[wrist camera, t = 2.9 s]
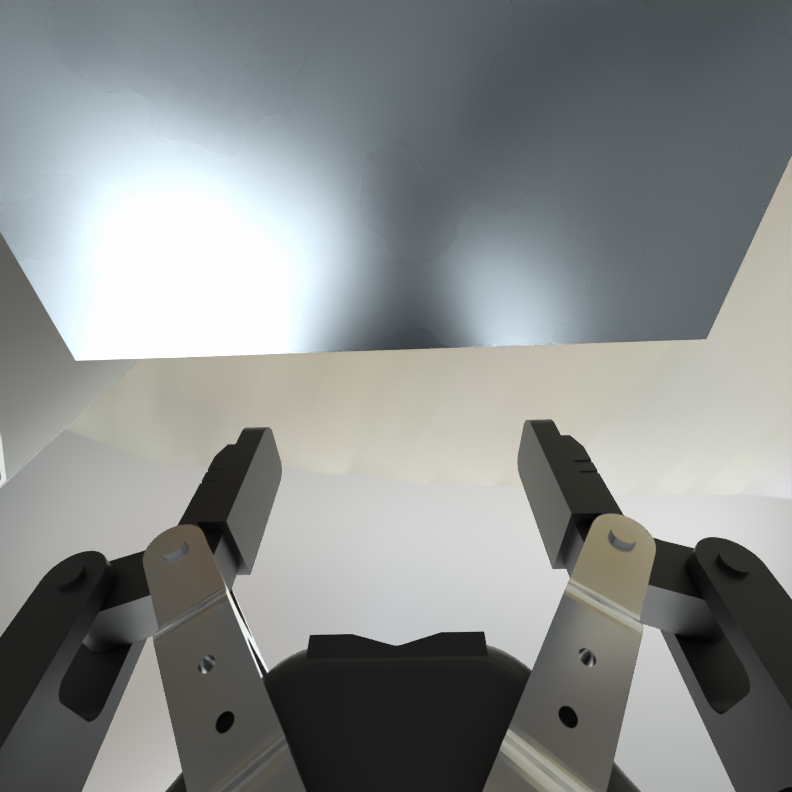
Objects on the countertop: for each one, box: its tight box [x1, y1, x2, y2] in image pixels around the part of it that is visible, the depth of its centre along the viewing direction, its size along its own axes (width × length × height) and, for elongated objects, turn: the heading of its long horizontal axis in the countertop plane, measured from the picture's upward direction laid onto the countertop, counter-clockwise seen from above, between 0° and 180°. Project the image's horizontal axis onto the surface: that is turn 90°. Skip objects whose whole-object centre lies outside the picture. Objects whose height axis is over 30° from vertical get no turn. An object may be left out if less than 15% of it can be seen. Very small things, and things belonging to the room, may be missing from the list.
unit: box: [0, 0, 792, 361], centre depth 9 cm, size 10×9×12 cm
